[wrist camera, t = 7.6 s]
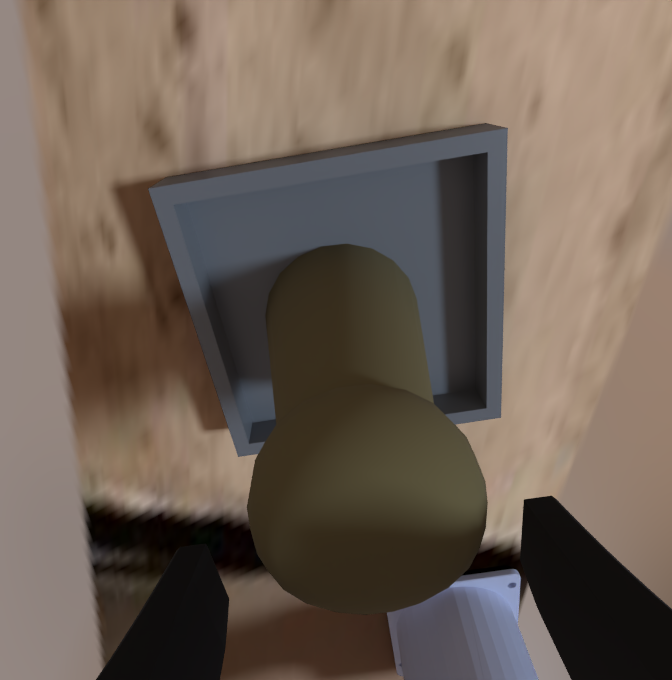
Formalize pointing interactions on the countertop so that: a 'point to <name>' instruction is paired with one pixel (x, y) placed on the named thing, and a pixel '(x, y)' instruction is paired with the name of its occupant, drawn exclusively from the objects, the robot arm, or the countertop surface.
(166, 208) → the tray
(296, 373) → the cork
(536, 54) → the countertop surface
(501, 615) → the robot arm
